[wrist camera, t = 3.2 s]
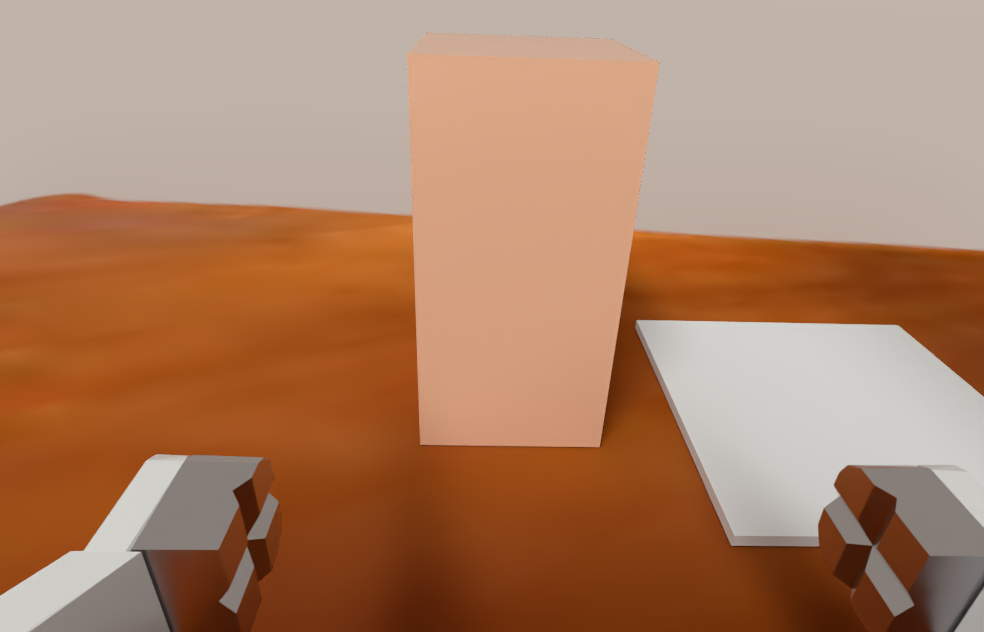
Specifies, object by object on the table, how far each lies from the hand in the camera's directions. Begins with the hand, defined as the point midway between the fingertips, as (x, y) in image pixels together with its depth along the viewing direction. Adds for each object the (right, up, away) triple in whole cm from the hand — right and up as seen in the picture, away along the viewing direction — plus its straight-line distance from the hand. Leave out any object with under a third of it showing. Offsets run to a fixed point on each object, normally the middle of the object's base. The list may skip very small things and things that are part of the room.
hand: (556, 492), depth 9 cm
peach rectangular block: (0, 0, +14) cm, 14 cm away
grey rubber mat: (+12, -1, +14) cm, 18 cm away
